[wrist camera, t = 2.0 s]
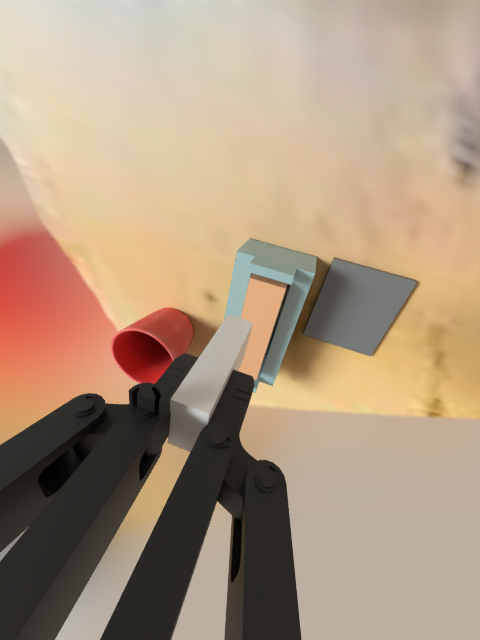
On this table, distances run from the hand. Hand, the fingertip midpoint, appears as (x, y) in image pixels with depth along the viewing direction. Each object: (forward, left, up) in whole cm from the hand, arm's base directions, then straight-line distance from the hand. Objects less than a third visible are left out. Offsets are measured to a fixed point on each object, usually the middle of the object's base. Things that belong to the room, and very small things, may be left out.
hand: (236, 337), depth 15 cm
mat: (+6, +11, -22) cm, 26 cm away
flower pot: (+19, -15, -22) cm, 33 cm away
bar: (+9, 0, -18) cm, 20 cm away
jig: (+10, 0, -22) cm, 24 cm away
